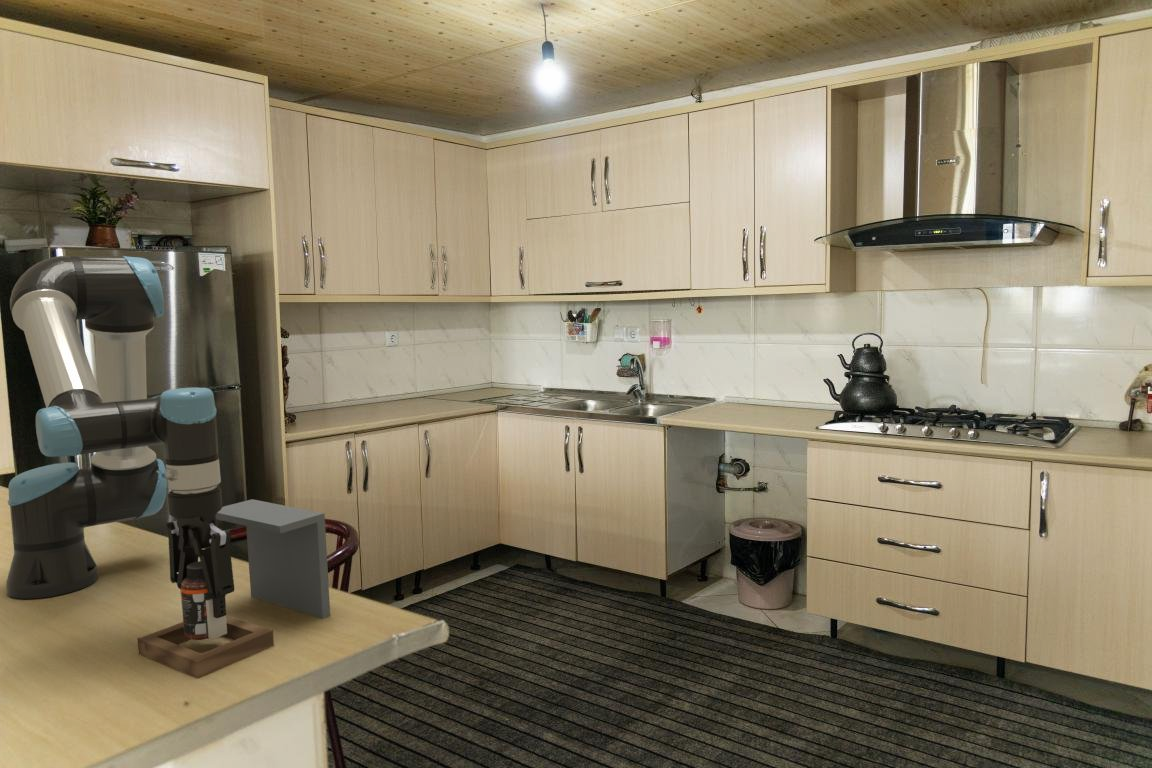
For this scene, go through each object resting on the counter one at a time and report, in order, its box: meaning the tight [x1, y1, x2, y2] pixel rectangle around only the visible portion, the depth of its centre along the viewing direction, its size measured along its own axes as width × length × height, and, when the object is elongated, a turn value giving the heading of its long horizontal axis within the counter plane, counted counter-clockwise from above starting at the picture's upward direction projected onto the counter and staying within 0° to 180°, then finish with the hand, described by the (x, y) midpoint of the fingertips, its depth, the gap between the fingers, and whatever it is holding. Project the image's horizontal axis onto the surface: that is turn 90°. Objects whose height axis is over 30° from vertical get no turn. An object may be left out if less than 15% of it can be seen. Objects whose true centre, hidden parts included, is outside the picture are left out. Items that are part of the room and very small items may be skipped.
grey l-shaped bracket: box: [216, 498, 331, 619], centre depth 143 cm, size 20×9×18 cm, turn 57°
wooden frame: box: [136, 614, 275, 679], centre depth 129 cm, size 16×13×2 cm
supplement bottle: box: [180, 560, 210, 641], centre depth 129 cm, size 6×6×11 cm
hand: (205, 631), depth 129 cm, fingers closed on supplement bottle, 6 cm apart
